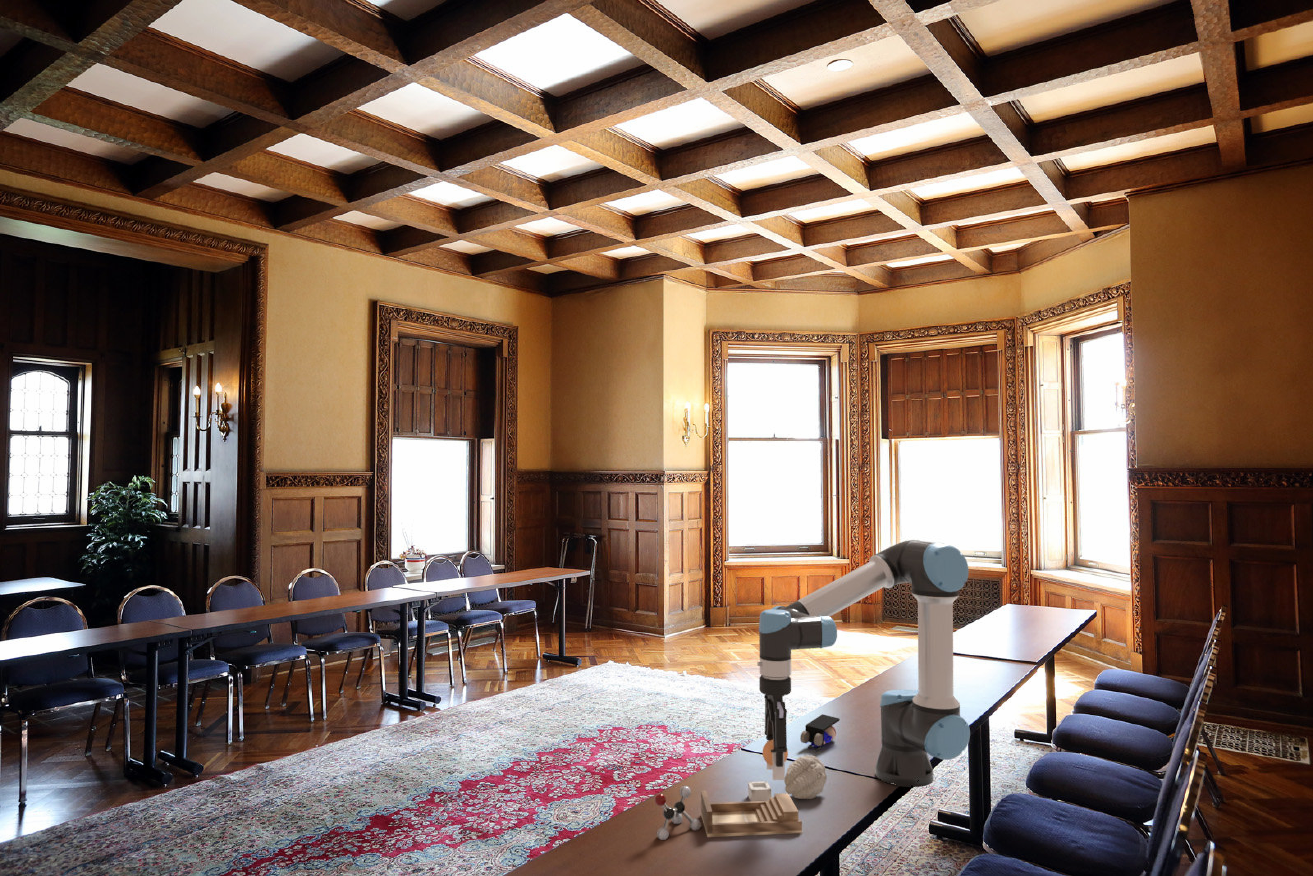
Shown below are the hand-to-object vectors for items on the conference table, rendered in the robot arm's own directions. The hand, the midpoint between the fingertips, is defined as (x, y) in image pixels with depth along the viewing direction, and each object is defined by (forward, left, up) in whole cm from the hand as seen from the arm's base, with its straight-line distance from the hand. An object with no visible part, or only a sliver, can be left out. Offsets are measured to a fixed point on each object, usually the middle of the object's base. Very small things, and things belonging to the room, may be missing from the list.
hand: (775, 773), depth 190 cm
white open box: (+1, -14, -12) cm, 19 cm away
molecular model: (+25, +2, -12) cm, 28 cm away
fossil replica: (-11, -15, -12) cm, 22 cm away
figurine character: (-20, -47, -10) cm, 52 cm away
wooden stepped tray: (+6, 0, -12) cm, 14 cm away
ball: (0, 0, +5) cm, 5 cm away
